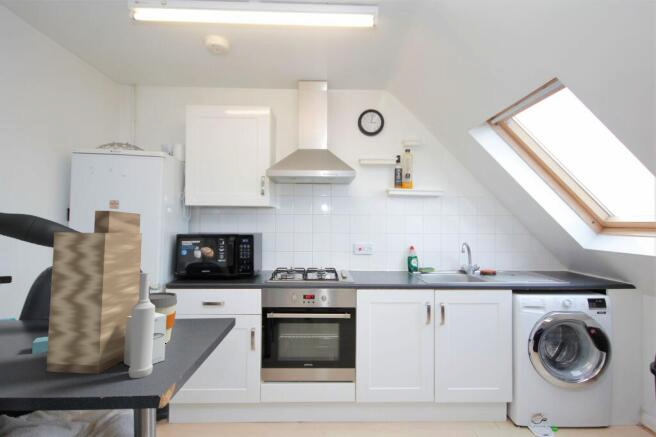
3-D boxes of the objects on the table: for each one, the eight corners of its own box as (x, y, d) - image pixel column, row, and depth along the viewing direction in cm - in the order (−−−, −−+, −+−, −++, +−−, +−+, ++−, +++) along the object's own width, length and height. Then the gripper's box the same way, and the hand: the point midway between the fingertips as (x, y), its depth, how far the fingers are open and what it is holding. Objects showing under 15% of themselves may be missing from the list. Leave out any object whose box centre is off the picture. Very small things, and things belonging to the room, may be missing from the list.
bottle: (135, 370, 81) (139, 271, 83) (156, 369, 82) (160, 271, 83) (123, 379, 76) (128, 274, 78) (146, 378, 77) (150, 274, 78)
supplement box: (137, 370, 81) (139, 320, 82) (123, 363, 85) (125, 316, 86) (165, 360, 87) (167, 314, 88) (150, 355, 91) (152, 310, 92)
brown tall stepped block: (46, 371, 80) (55, 210, 82) (91, 351, 94) (98, 214, 96) (98, 373, 79) (106, 210, 81) (136, 353, 93) (142, 214, 95)
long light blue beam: (25, 353, 91) (61, 304, 96) (29, 347, 95) (63, 301, 100) (106, 377, 101) (135, 331, 106) (106, 371, 105) (134, 328, 110)
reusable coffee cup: (182, 342, 102) (183, 295, 103) (138, 353, 93) (140, 301, 94) (167, 334, 111) (168, 290, 112) (125, 342, 102) (127, 295, 102)
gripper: (-94, 274, 79) (-4, 270, 87) (-61, 269, 92) (15, 266, 99) (-96, 305, 79) (-6, 298, 87) (-62, 295, 91) (14, 290, 99)
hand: (5, 281), depth 93 cm, fingers open, 8 cm apart
